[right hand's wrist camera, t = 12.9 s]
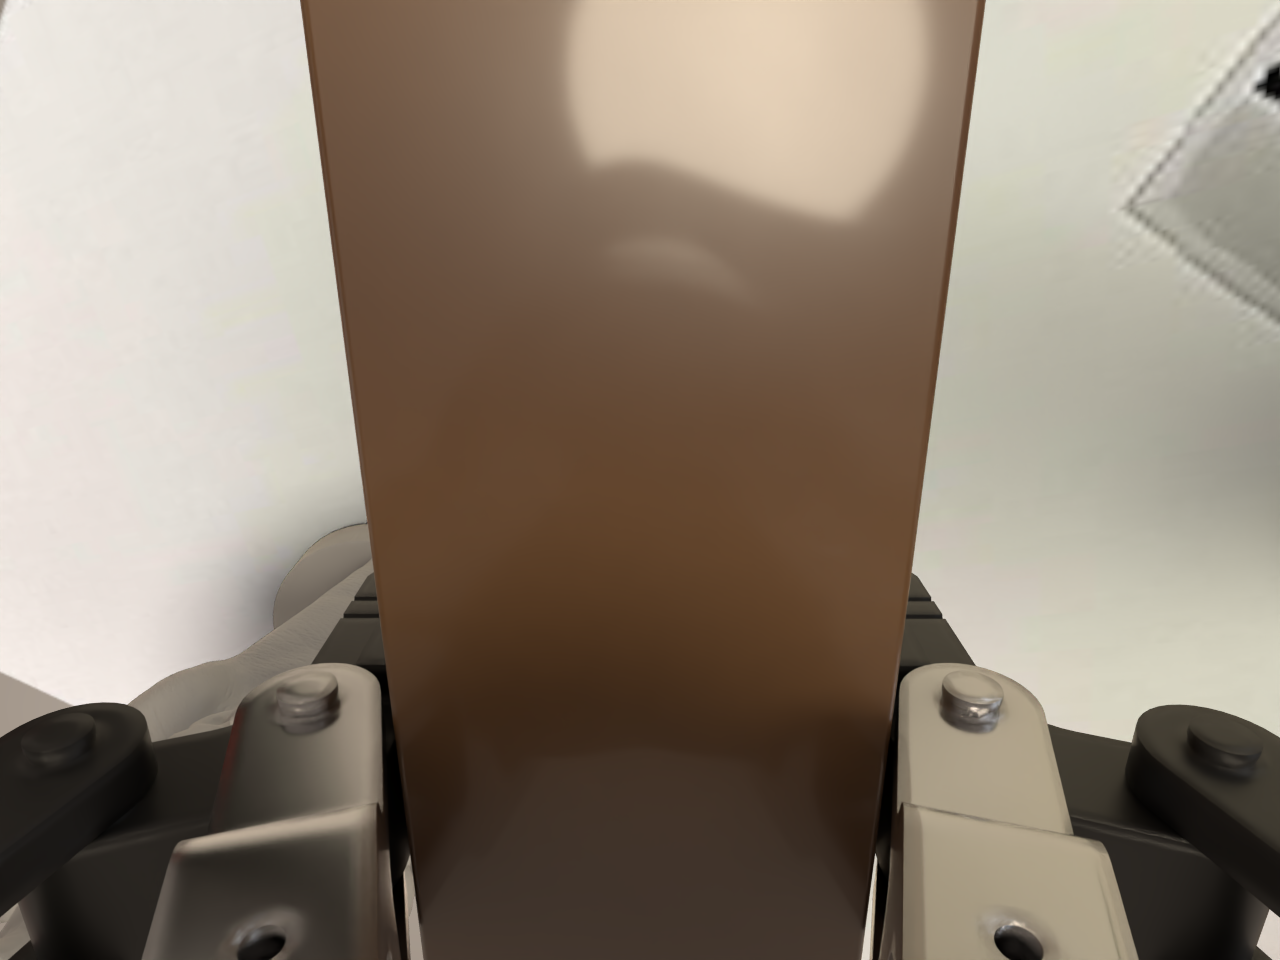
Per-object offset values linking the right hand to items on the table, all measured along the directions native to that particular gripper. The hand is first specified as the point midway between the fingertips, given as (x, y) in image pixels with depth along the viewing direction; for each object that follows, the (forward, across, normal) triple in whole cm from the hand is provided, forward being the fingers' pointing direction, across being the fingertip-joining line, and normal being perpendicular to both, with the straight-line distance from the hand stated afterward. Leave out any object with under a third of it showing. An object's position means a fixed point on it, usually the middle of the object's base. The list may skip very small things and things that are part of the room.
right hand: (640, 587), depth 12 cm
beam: (+2, 0, -19) cm, 20 cm away
